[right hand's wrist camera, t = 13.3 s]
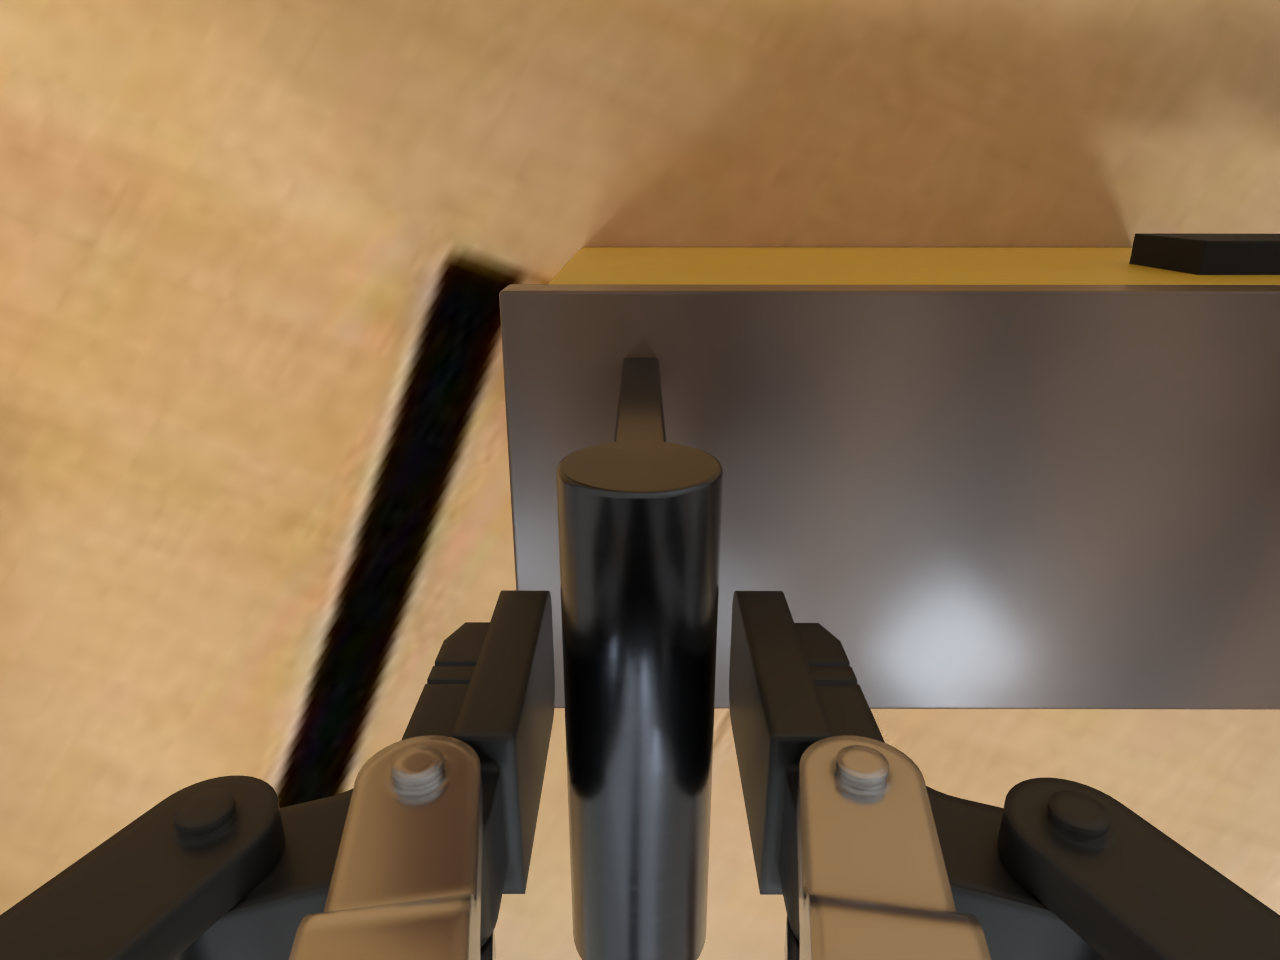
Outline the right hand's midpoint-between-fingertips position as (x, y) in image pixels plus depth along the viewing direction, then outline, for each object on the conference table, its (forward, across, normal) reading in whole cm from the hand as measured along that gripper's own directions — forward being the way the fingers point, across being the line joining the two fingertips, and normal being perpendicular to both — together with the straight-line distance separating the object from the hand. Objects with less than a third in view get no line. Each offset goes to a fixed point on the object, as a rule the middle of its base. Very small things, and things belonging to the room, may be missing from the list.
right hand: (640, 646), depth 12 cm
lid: (+6, -6, 0) cm, 9 cm away
